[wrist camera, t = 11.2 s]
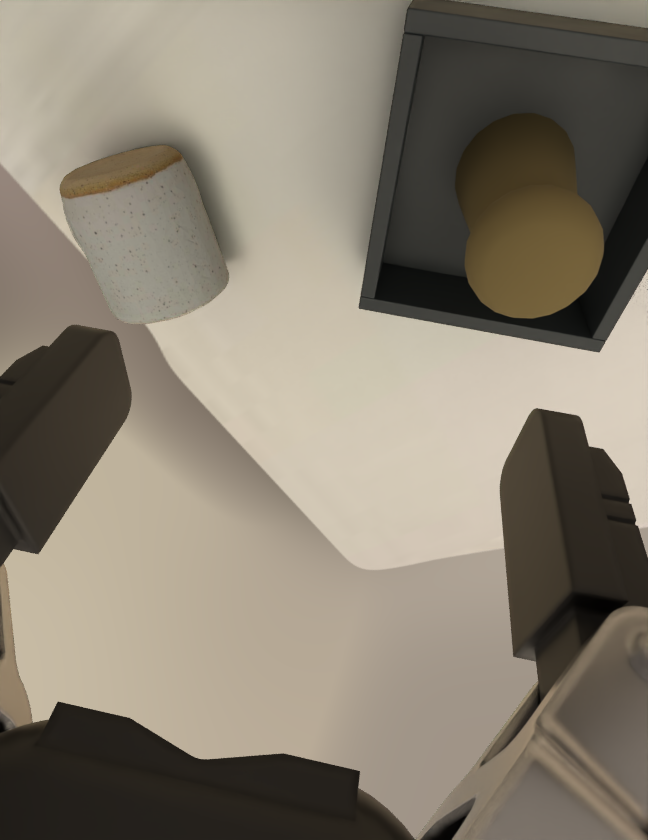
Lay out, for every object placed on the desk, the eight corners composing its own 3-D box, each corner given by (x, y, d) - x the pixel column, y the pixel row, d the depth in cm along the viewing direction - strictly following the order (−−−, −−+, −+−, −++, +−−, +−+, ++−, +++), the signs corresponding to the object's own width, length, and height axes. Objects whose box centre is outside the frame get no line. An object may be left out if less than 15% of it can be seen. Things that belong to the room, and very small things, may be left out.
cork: (596, 121, 25) (660, 208, 17) (549, 240, 29) (582, 353, 21) (472, 104, 26) (479, 181, 18) (442, 223, 30) (437, 328, 22)
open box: (415, -5, 24) (407, 7, 20) (720, 38, 23) (770, 59, 19) (369, 267, 33) (358, 308, 29) (583, 305, 32) (599, 353, 29)
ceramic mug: (199, 126, 29) (136, 172, 24) (246, 261, 34) (204, 324, 29) (50, 162, 32) (-34, 209, 27) (114, 280, 38) (54, 340, 32)
